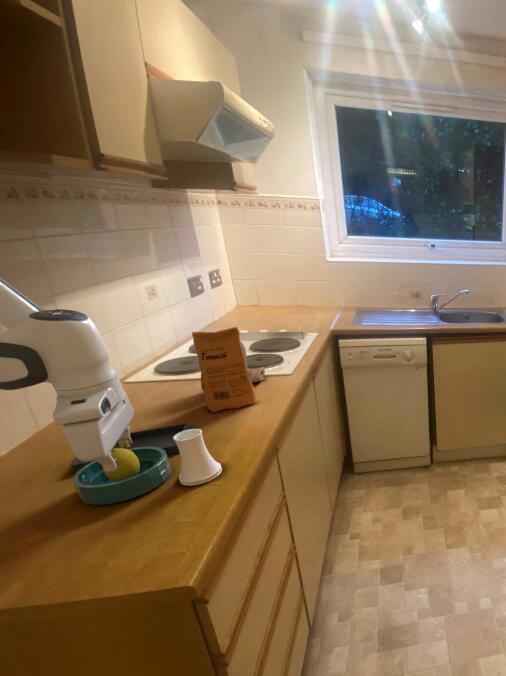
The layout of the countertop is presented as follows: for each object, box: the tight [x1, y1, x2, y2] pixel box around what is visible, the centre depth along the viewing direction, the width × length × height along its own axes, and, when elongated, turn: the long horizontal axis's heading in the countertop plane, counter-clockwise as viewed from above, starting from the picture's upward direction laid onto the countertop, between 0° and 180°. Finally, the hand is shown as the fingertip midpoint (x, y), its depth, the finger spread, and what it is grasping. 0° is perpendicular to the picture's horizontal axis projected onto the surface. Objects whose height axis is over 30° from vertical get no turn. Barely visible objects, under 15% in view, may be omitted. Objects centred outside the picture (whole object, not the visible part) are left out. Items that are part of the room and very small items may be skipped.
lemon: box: [102, 448, 140, 482], centre depth 88 cm, size 6×6×8 cm
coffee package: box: [191, 326, 257, 413], centre depth 121 cm, size 10×12×22 cm
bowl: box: [72, 447, 173, 506], centre depth 89 cm, size 15×15×4 cm
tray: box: [70, 422, 192, 474], centre depth 102 cm, size 19×12×2 cm, turn 116°
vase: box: [173, 428, 223, 487], centre depth 91 cm, size 8×8×10 cm
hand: (120, 457), depth 87 cm, fingers open, 8 cm apart
